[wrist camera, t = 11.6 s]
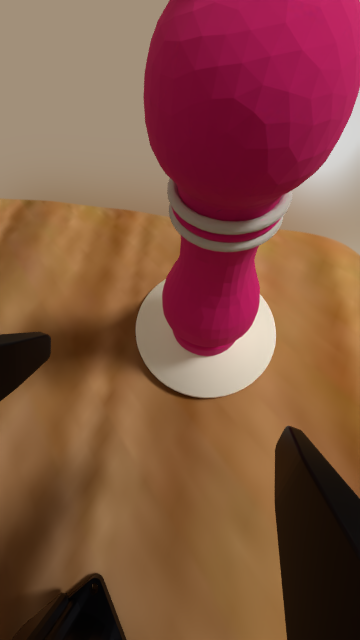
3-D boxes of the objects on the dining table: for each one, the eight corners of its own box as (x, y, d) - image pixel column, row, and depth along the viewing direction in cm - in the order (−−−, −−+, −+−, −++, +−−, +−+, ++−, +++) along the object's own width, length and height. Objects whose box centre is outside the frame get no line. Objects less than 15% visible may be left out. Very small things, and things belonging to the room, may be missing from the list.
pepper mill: (184, 282, 23) (176, -213, 5) (253, 306, 22) (557, -262, 4) (153, 343, 20) (-86, -275, 3) (230, 375, 19) (941, -531, 1)
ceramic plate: (302, 343, 21) (306, 340, 20) (188, 431, 18) (188, 432, 17) (215, 255, 26) (216, 250, 25) (113, 313, 23) (111, 309, 22)
